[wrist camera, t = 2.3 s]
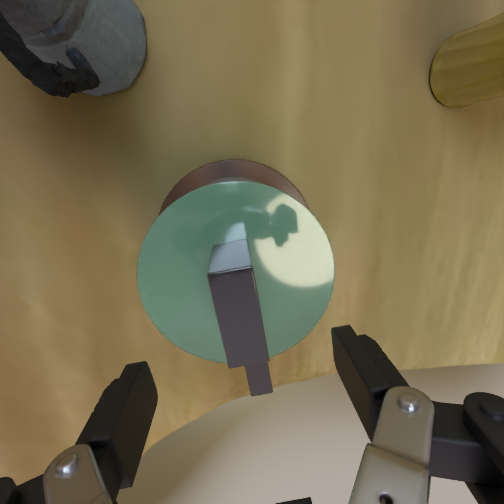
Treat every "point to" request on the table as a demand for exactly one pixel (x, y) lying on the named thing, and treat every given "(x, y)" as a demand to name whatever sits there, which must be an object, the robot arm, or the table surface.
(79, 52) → the moka pot
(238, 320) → the pot
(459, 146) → the table surface
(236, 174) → the trivet
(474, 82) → the vase
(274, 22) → the table surface
